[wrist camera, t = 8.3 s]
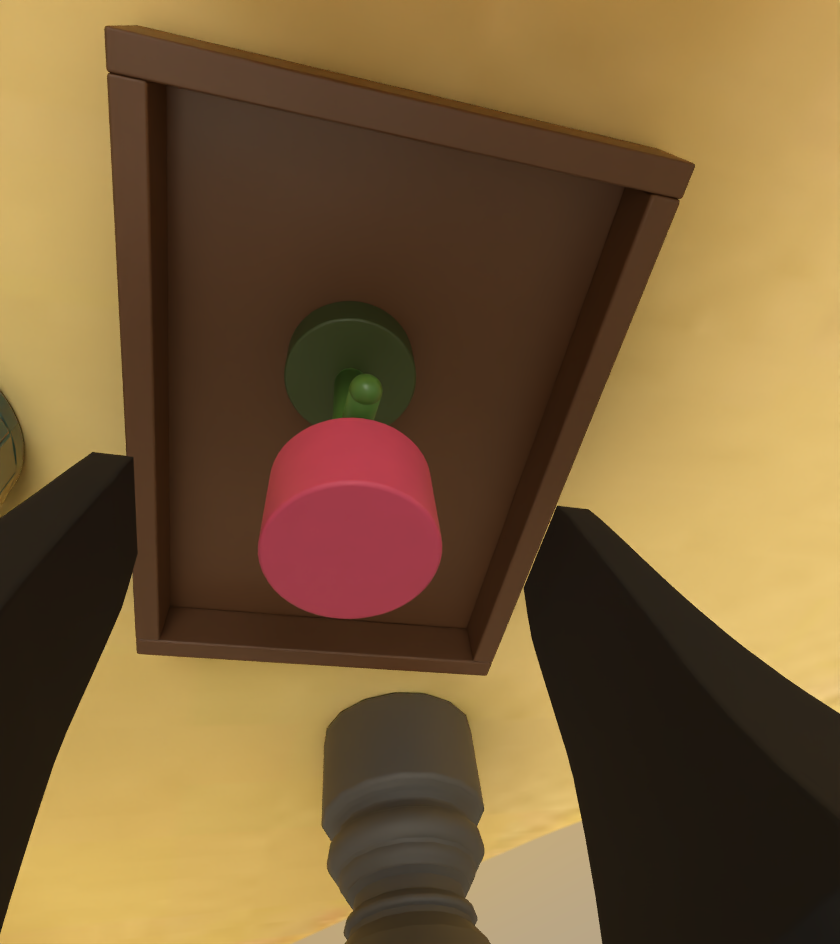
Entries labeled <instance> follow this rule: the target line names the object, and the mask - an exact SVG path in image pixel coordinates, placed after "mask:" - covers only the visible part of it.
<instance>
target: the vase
mask: <svg viewBox="0 0 840 944" xmlns="http://www.w3.org/2000/svg"><path fill="white" fill-rule="evenodd" d="M23 458H24V445H23V437H22V433H21V429H20V426H19V423H18V421H17V418H16V416H15V413H14V412H13V410H12V408H11V406H10V404H9V403H8V401H7V399H6V398H5V397H4V395H3V394H2V393H1V391H0V507H1V506H2V504H3V503H4V501H5V499H6V497H7V494H8V493H9V491H10V490H11V489H12V487H13V486H14V484H15V483H16V481H17V479H18V477H19V475H20V472H21V469H22V466H23Z"/></svg>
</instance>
